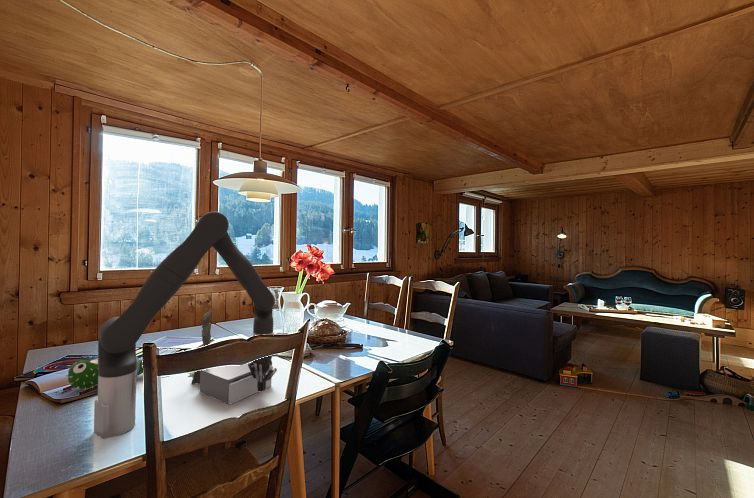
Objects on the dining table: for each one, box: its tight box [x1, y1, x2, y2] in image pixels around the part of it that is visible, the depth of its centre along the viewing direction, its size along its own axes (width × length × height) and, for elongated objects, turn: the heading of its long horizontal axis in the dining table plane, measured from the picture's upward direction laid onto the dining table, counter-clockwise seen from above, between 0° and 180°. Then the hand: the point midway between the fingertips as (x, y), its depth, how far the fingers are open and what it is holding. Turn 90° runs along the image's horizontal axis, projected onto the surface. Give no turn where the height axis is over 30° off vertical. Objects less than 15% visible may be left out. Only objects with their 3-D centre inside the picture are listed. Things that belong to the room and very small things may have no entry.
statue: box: [190, 307, 214, 385], centre depth 141 cm, size 7×8×30 cm
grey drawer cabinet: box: [199, 363, 252, 404], centre depth 135 cm, size 16×19×8 cm
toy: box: [65, 356, 144, 391], centre depth 136 cm, size 22×11×30 cm
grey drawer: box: [228, 375, 273, 405], centre depth 134 cm, size 16×19×7 cm
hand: (261, 390), depth 128 cm, fingers closed
